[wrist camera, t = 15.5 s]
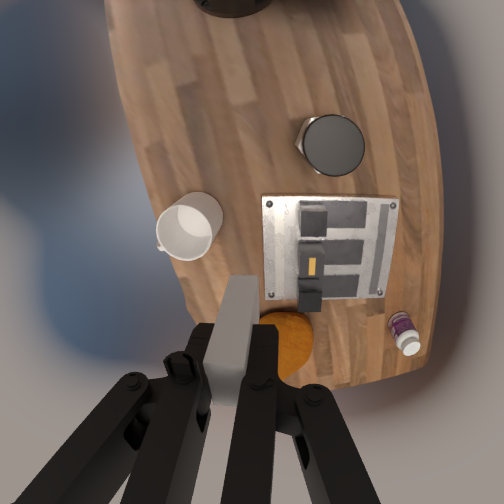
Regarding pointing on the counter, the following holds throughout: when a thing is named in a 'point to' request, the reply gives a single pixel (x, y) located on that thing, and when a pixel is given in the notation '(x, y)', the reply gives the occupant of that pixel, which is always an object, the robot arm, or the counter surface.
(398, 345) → the pill bottle
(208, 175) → the counter surface
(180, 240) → the mug
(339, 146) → the jar
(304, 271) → the handle
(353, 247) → the panel
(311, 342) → the bread
